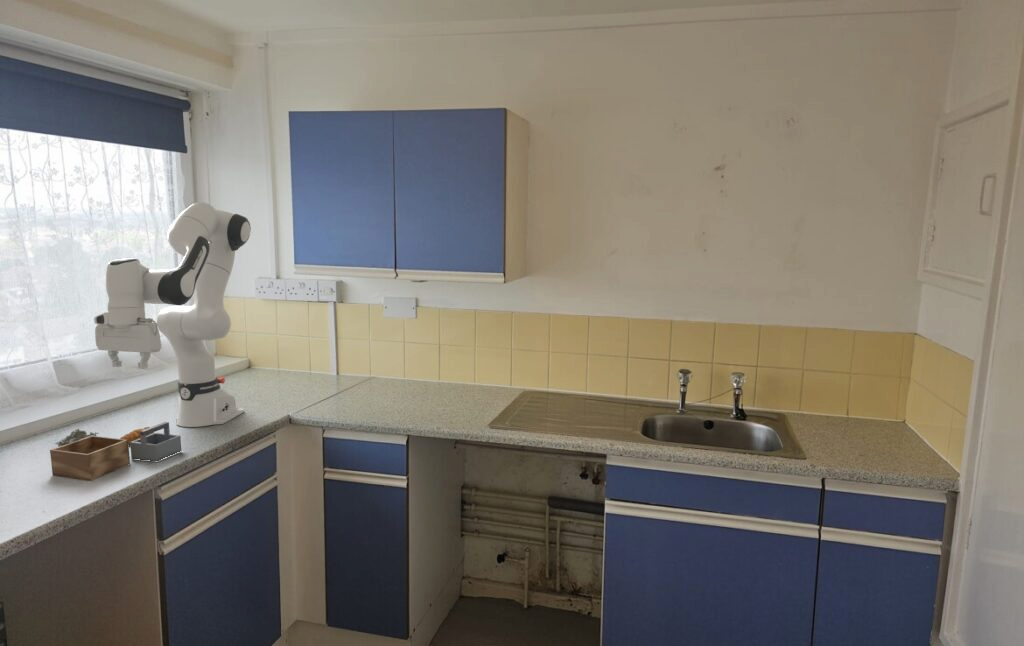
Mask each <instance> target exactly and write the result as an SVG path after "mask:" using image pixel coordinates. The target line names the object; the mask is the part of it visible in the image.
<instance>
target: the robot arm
mask: <svg viewBox="0 0 1024 646" xmlns="http://www.w3.org/2000/svg"><path fill="white" fill-rule="evenodd" d="M251 229H252V228H251V223H250V221H249V219H248V218H247V217H246V216H244V215H241V214H238V213H232V212H229V211H225V210H221V209H220V210H219V209H216V208H215V207H214V206H212V205H211V204H209V203H207V202H204V201H200V202H198V201H197V202H194V203H193V204H191V205H190V206H188V207H187V208H186V209H184V210H183V211H182V212H181V213H180V214H179V215H178V217H176V219H175V220H174V221H173V222H172V223H171V225H170V226H169V229H168V231H167V240H168V243H169V246H171V248H172V249H173V251H175V252H176V253H178V254H179V255H181V256H184V257H183V258H182V260H181V262H180V264H179V266H177V267H175V268H172V269H150V268H148V267H146V266H144V265H143V264H142V263H141V261H140V260H139V258H136V257H122V258H116V259H112V260H110V261H109V262H108V264H107V266H106V272H105V273H106V274H105V287H106V293H107V296H108V303H107V311H105V312H102V313H100V314H98V315H96V316H95V317H94V318H93V320H94V324H95V325H96V326H95V328H94V329H95V330H94V335H95V337H94V338H95V346H96V347H97V349H98V350H99V351H106V352H107V355H108V357H109V359H110V360H111V365H112V367H114V368H121V367H122V366H123V365H122V360H121V359H120V358H119V356H118V355H119V352H126V353H127V352H128V353H139V357H141V358H140V361H138V362H137V368H138V370H139V369H140V370H141V369H142V370H145V369H147V368H148V367H149V366H148V362H149V360H150V358H151V353H159V352H160V351H161V349H162V341H161V334H162V335H163V336H164V337H165V338H167V340H168V342H169V343H170V346H171V348H172V349H173V352H174V355H175V358H176V362H177V363H176V364H177V370H178V371H177V372H178V382H177V392H178V393H179V395H178V399H177V400H178V403H177V415H176V416H175V420H176V425H177V426H179V427H185V428H198V427H206V426H207V427H208V426H212V425H223V424H225V423H227V422H229V421H230V420H232V419H235V418H236V417H238V416H240V415H241V414H242V413H244V412H245V410H244V408H241V407H237V402H236V398H235V396H234V395H233V394H231V393H229V392H228V391H226V390H224V389H223V388H221V385H223V384H225V383H226V379H225V377H216V365H215V364H216V362H215V356H214V355H213V353H212V352H211V351H210V350H209V349H208V348H207V347H206V345H205V344H204V343H203V342H204V341H214V340H218V339H219V340H220V339H223V338H225V337H226V336H227V335H228V334H229V331H230V329H231V326H232V325H231V324H232V323H231V317H230V315H229V314H228V312H227V311H226V309H225V305H224V296H225V293H226V292H225V291H226V288H227V285H228V283H229V281H230V280H229V279H230V276H231V273H232V270H233V268H234V262H235V258H236V257H235V256H236V252H237V251H238V250H239V249H240V248H241V247H243V246H244V245H245V244H246V243H247V242H248V240H249V239H250V236H251V231H252V230H251ZM193 295H194V302H193V305H186V304H187V303H189V301H190V300H191V298H192V297H193ZM145 304H151V305H152V304H154V305H156V304H157V305H171V306H167V307H164V308H162V309H161V310H160V311H159V313H158V315H157V317H156V321H155V320H154V319H153V318H150V317H149V318H146V305H145ZM220 384H221V385H220Z"/></svg>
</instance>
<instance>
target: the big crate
mask: <svg viewBox="0 0 1024 646" xmlns="http://www.w3.org/2000/svg"><path fill="white" fill-rule="evenodd" d="M129 446H130V445H128V440H125V439H120V438H115V437H109V436H108V437H107V436H99V435H97V436H89V437H86V438H84V439H81V440H78V441H75V442H72V443H69V444H66V445H63V446H60V447H58V446H57V447H55V448H51V449H50V450H49V453H50V462H51V464H50V465H51V472H52V476H54V477H60V478H69V479H73V480H80V481H81V480H82V481H87V482H88V481H89V482H91V481H93V480H95V479H98V478H100V476H101V477H103V476H105V475H108V474H111V473H112V472H114V471H117V470H119V469H122V468H124V466H125V467H127V466H129V465H131V458H130V457H131V455H130V449H129V448H130V447H129ZM128 464H129V465H128ZM126 465H127V466H126Z"/></svg>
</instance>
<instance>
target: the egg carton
mask: <svg viewBox="0 0 1024 646" xmlns="http://www.w3.org/2000/svg"><path fill="white" fill-rule="evenodd" d="M89 433H90V434H89ZM89 433H87V431H85V430H80V428H77V429H74V430H73V431H71V432H70V435H67V436H66V437H64V438H62V439H60V440H59V441H57V442H55V443H54V444H55V445H57V448H58V447H60V446H63V445H66V444H69V443H72V442H75V441H78V440H81V439H84V438H86V437H89V436H98V434H99V433H100V432H92V431H90V432H89Z"/></svg>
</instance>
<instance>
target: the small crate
mask: <svg viewBox="0 0 1024 646" xmlns="http://www.w3.org/2000/svg"><path fill="white" fill-rule="evenodd" d="M149 427H150V426H149ZM161 430H163V433H162V432H161V433H160V432H158V431H161ZM153 432H154V433H153ZM150 433H153V434H150ZM148 434H150V435H148ZM146 435H148V436H146ZM181 438H182V437H181V434H171V433H170V423H169V422H168V421H164V422H160V423H158V424H156V425H154V426H151V427H150V428H147V429H144V430H142V431H140V439H137V440H135V441H132V442H130V445H129V446H130V447H129V448H130V457H131V458H130V460H134V459H140V460H139V461H141V460H150V461H159V460H161V459H163V458H165V457H168V456H170V455H173V454H175V453H177V452H180V451H182V439H181Z"/></svg>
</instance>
